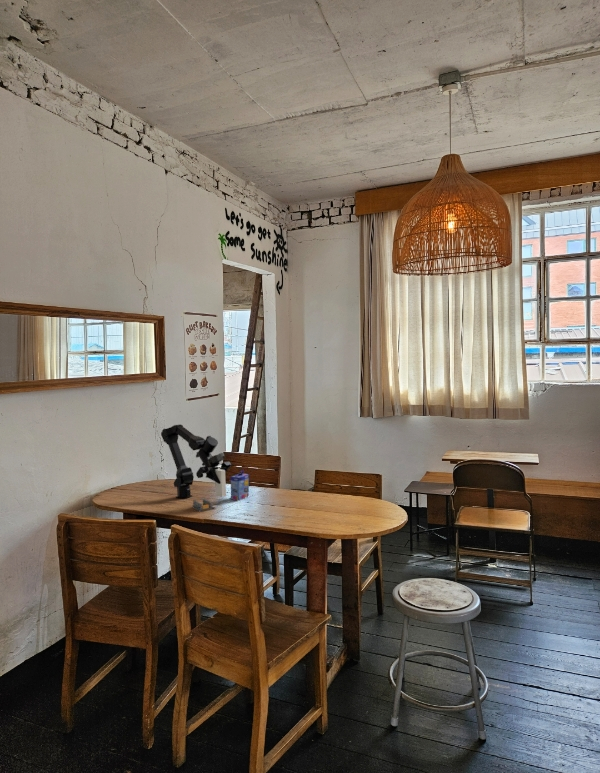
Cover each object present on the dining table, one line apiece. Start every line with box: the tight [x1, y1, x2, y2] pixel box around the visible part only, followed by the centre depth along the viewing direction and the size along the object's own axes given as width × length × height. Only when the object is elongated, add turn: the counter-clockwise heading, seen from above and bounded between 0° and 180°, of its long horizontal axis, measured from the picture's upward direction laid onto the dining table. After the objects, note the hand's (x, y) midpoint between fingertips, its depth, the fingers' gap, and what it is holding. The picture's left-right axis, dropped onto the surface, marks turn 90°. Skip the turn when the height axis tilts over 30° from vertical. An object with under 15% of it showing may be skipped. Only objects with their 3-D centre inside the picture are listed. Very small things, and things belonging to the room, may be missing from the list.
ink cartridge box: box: [230, 470, 250, 501], centre depth 275 cm, size 10×6×14 cm, turn 152°
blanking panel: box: [214, 469, 227, 498], centre depth 261 cm, size 5×2×13 cm, turn 49°
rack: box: [192, 498, 214, 512], centre depth 258 cm, size 9×7×3 cm
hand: (222, 482), depth 260 cm, fingers closed on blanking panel, 2 cm apart
